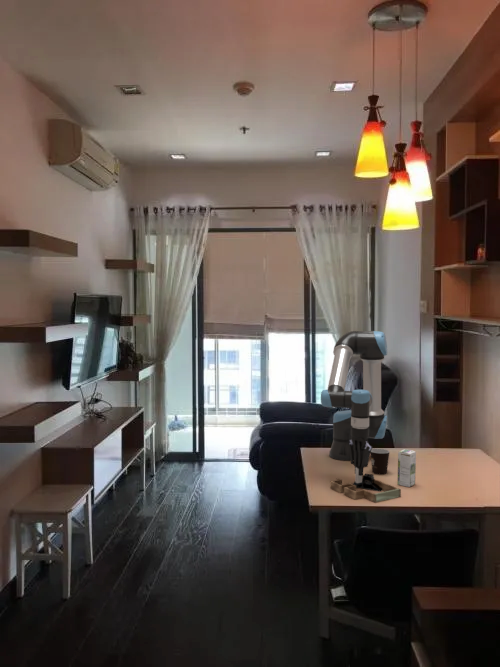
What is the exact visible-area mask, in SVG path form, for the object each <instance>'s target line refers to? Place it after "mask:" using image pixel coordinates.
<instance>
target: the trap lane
mask: <svg viewBox="0 0 500 667" xmlns="http://www.w3.org/2000/svg"><path fill="white" fill-rule="evenodd" d="M363 476H364V474H363V475H362V479H363ZM374 479H375V480H374V483H375V484H377V485H378V486H379V487H381V488H382V490H381V491H380V492H377V493H374V492H372V491H369V490H368V489H364V488H363V489H360V490H357V487H356V486H355V485H353V483H351V482H348V483H343V479H341V478H340V477H337V478H336V479H335V480H331V481H330V482H329V483H330V485H329V486H330V489H331V490H333V491H335V492H337V493H341V494H342V493H343V495H344V496H346V497H348V498H350V499H352V500H359V499H366V500H368V501H371V502H372V503H379V502H383V501H387V500H388V501H389V500H393V499H397V498H401V497H402V494H401V493H402V489H401V488H398V487H397V486H394V485H391V484H388V483H387V482H384V481H381V480H379V479H376V478H374ZM365 481H367V480H365Z"/></svg>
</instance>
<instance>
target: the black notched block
mask: <svg viewBox="0 0 500 667" xmlns="http://www.w3.org/2000/svg"><path fill="white" fill-rule="evenodd" d="M363 475H364V476H363V479H362V482H361V483H355V481H354V482H353V483H352V484H353V485H355V486H356V488H361V489H363V490H364V489H365V490H371V491H376V492H382V491H383V490H382V488H381V487H379V486H378V485H377V484H375V483H374V480H375V479H376V478H375V475H374V474H373V473H372V474H371V473H363ZM365 480H367V481H365Z"/></svg>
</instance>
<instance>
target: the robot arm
mask: <svg viewBox="0 0 500 667" xmlns="http://www.w3.org/2000/svg"><path fill="white" fill-rule="evenodd" d="M332 353H333V355H334V357H333V362H332V365H331V369H330V370H331V371H330V375H329V380H328V386H327V389H322V391H321V393H320V404H321V406H322V407H326V408H340V409H349V410H340V411H337V412H334V414H333V418H332V419H333V420H332V439H333V440H332V444H331V447H330V450H329V457H330V458H331V459H335V460H339V461H350V464H351V465H353V467H354V475H355V476H354V477H355V480H354V482H355V483H361V482H362V475H364V468H367V467H368V466H369V461H370V458H371V453H370V452H371V450H372V449H374V448H373V445H370V444H369V439H374V440H376V439H378V440H379V439H383V438H385V433H386V429H387V424H388V415H385V411H384V410H383V409H382V361H384V360H385V356H387V355H388V344H387V337H386V335H385V332H383V331H378V330H377V331H376V330H352V331H348V332H346V333H345V334H343V335H342V336H341V337H339V339H338V340H337V341H336V343H335V344H334V347H333V352H332ZM353 355H356V356H357V355H359V359H360V360H361V361H362V366H363V367H362V369H363V370H362V372H363V373H362V378H363V381H362V384H363V386H362V388H363V389H353V390H346V386H347V385H346V384H347V380H348V373H349V369H350V368H349V366H350V360H351V358H352V357H353Z"/></svg>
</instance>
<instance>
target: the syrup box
mask: <svg viewBox="0 0 500 667" xmlns="http://www.w3.org/2000/svg"><path fill="white" fill-rule="evenodd" d="M416 465H417V451H415V450H412V449H405V448H404V449H402V450H400V451H398V453H397V481H396V482H397V485H398V486H402V487H407V488H411V487H412V486H414V485H415V484H416V473H417V472H416V470H417V469H416V468H417V466H416Z"/></svg>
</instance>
